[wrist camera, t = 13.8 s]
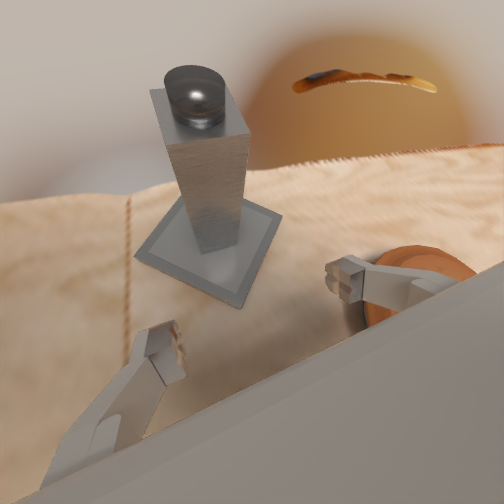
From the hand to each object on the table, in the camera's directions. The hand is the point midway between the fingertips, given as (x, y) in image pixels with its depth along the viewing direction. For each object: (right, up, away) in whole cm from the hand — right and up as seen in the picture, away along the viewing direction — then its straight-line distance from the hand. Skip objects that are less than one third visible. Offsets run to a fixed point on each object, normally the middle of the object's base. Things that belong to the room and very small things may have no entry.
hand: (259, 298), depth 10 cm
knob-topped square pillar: (-4, +4, +12) cm, 13 cm away
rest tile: (-5, +4, +13) cm, 14 cm away
